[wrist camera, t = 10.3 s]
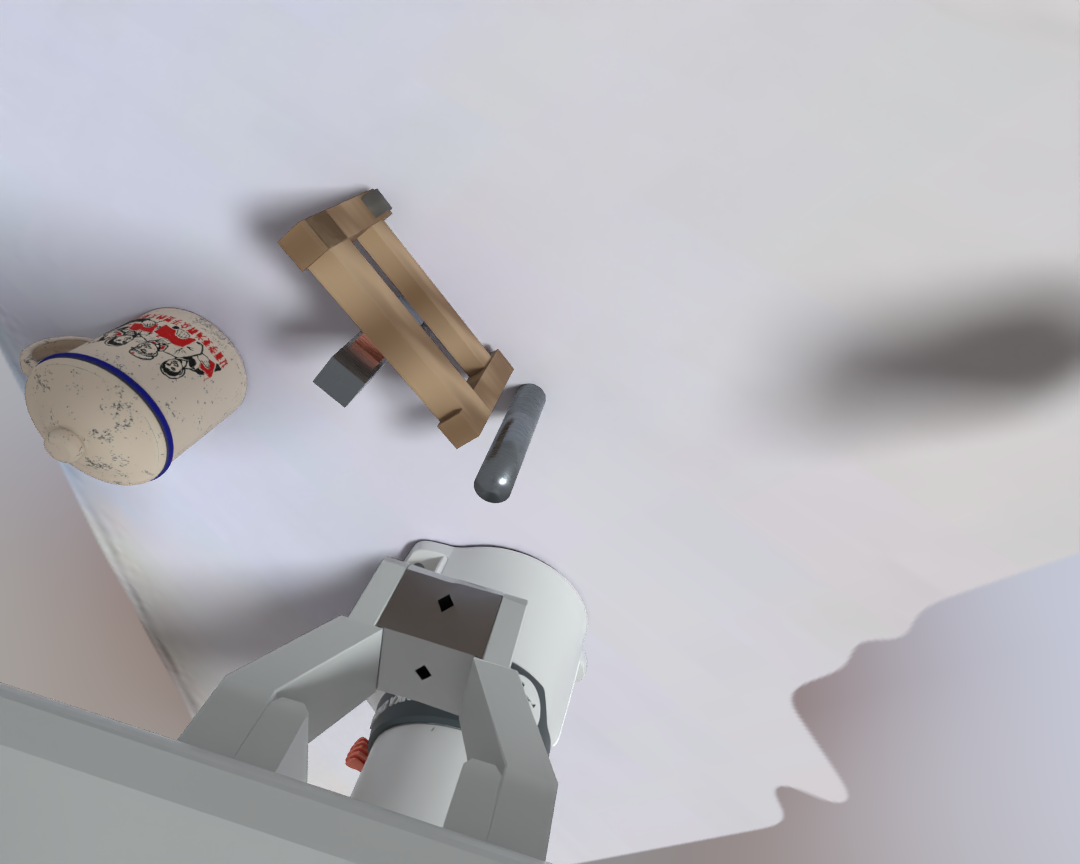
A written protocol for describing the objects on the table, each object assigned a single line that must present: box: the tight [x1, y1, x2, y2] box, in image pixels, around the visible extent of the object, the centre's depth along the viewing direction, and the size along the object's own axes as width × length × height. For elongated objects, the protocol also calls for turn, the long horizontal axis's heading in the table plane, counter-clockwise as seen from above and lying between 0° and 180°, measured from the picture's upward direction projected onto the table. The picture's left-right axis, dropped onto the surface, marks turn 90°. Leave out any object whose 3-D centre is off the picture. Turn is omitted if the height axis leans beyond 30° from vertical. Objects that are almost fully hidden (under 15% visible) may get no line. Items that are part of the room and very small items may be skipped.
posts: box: [313, 295, 546, 503], centre depth 35 cm, size 3×11×10 cm, turn 48°
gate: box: [277, 189, 514, 449], centre depth 33 cm, size 13×3×8 cm, turn 37°
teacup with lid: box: [20, 308, 247, 485], centre depth 39 cm, size 12×9×12 cm
